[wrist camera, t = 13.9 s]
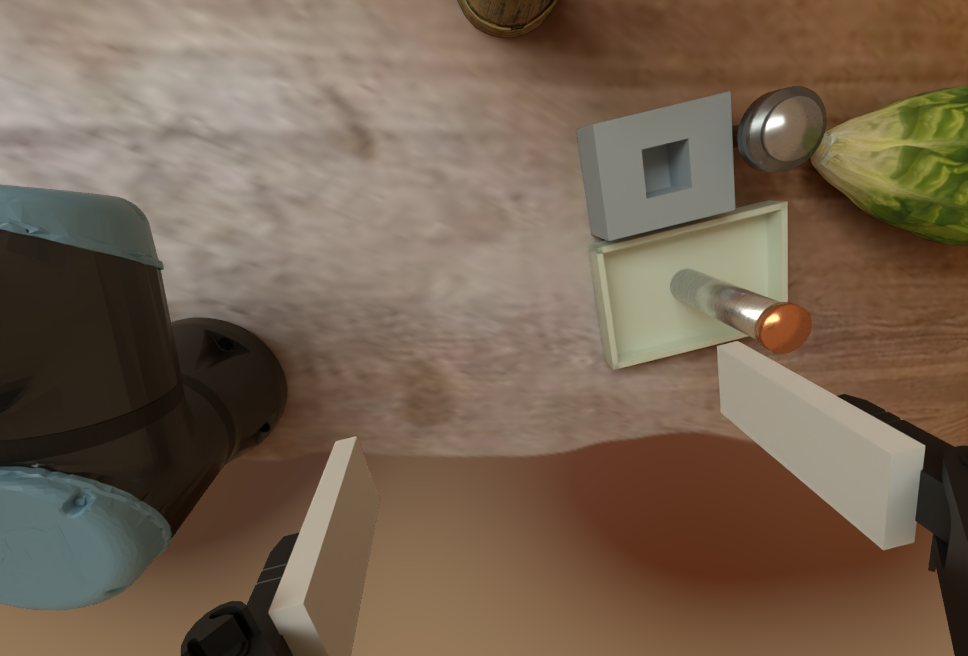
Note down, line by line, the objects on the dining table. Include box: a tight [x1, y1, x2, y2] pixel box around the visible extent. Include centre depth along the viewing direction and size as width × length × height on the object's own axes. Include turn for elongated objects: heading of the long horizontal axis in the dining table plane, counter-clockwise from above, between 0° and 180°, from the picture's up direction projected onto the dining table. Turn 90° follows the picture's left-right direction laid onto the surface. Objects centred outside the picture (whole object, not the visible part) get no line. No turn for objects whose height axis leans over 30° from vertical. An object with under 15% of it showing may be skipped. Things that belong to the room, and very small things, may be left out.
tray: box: [587, 200, 788, 370], centre depth 48 cm, size 19×13×3 cm
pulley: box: [732, 86, 826, 172], centre depth 41 cm, size 6×6×8 cm
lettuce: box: [811, 86, 968, 246], centre depth 42 cm, size 14×23×13 cm, turn 81°
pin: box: [670, 268, 812, 353], centre depth 41 cm, size 4×4×15 cm
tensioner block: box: [576, 91, 735, 241], centre depth 42 cm, size 12×10×5 cm
